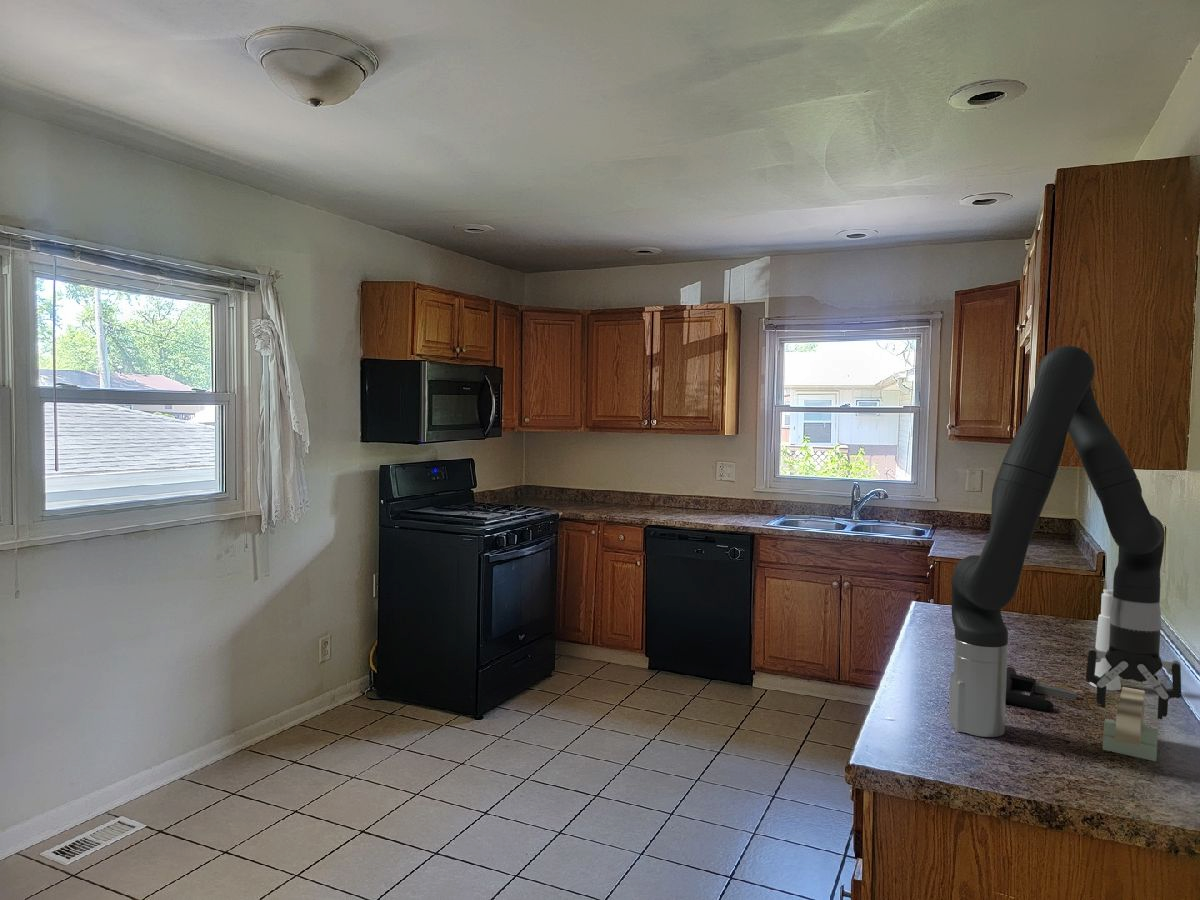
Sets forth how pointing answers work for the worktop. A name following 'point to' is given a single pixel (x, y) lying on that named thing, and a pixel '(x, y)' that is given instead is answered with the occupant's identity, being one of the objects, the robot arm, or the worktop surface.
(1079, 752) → the worktop surface
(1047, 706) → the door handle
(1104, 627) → the cosmetic bottle
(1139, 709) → the bar
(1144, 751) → the ridge
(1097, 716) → the worktop surface
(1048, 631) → the worktop surface
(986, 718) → the robot arm
